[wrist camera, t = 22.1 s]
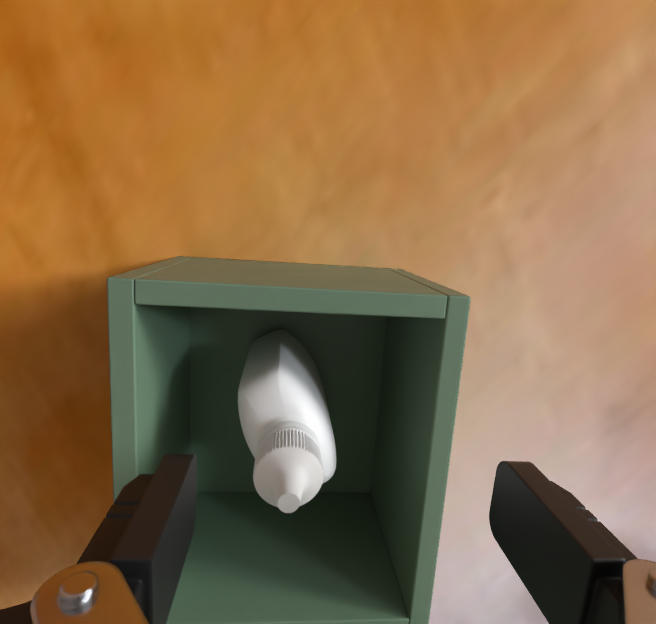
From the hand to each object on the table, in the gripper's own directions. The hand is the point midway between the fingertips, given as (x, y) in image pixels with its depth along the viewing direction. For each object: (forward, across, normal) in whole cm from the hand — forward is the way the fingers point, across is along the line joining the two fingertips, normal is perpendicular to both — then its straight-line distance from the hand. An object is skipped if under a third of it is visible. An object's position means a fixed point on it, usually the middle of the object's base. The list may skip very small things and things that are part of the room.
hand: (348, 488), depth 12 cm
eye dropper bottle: (+14, +2, +2) cm, 14 cm away
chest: (+15, +2, +3) cm, 15 cm away
